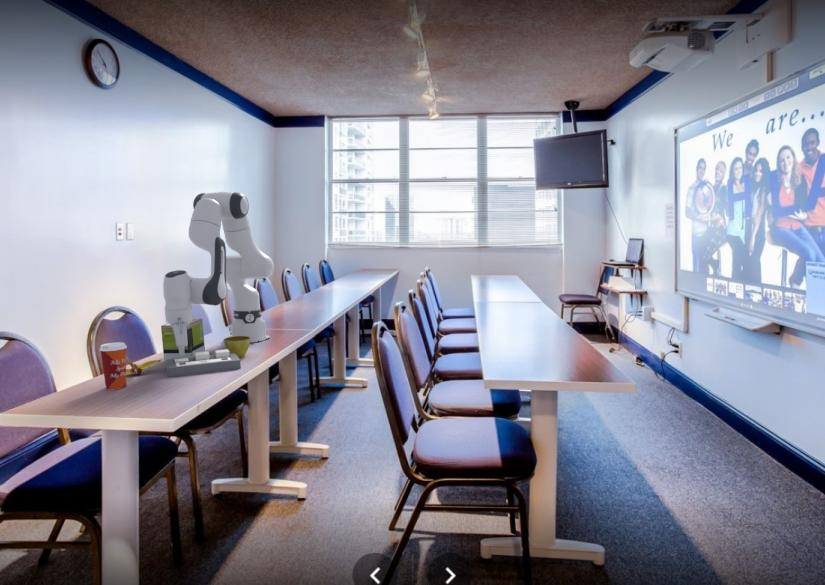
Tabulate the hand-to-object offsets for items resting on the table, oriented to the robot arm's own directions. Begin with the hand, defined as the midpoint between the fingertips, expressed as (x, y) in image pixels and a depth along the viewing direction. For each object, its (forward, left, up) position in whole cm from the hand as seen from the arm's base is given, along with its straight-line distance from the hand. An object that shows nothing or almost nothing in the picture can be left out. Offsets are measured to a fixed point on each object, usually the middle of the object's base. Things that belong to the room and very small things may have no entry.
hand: (181, 354), depth 190 cm
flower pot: (-10, +21, -6) cm, 24 cm away
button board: (+3, +7, -5) cm, 9 cm away
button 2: (+1, +14, -3) cm, 14 cm away
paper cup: (+16, -20, -6) cm, 26 cm away
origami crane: (+1, -15, -6) cm, 16 cm away
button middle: (+1, +7, -3) cm, 8 cm away
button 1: (+1, 0, -5) cm, 5 cm away
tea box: (-17, +2, -6) cm, 18 cm away
